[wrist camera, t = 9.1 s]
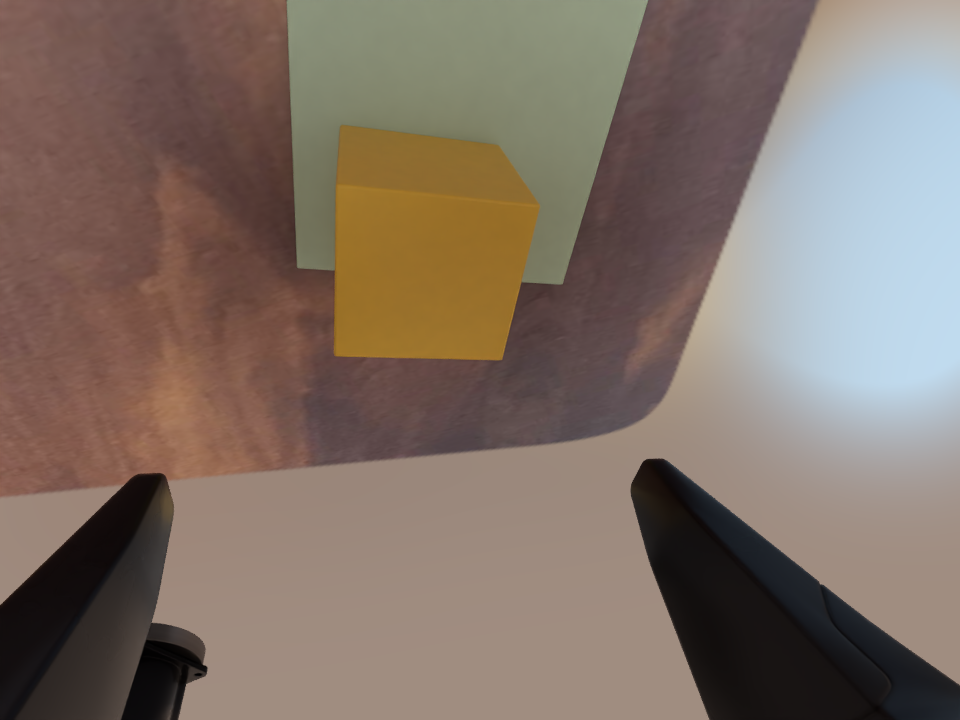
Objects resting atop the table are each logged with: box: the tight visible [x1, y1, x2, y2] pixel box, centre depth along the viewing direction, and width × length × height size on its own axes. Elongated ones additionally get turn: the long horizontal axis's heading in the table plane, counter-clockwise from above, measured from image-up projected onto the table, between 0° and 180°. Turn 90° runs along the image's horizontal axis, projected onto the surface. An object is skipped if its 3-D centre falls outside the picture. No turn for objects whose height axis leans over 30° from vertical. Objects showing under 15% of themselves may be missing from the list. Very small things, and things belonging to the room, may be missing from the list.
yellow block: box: [334, 125, 540, 360], centre depth 16 cm, size 5×5×5 cm
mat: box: [286, 0, 648, 285], centre depth 17 cm, size 10×10×1 cm
